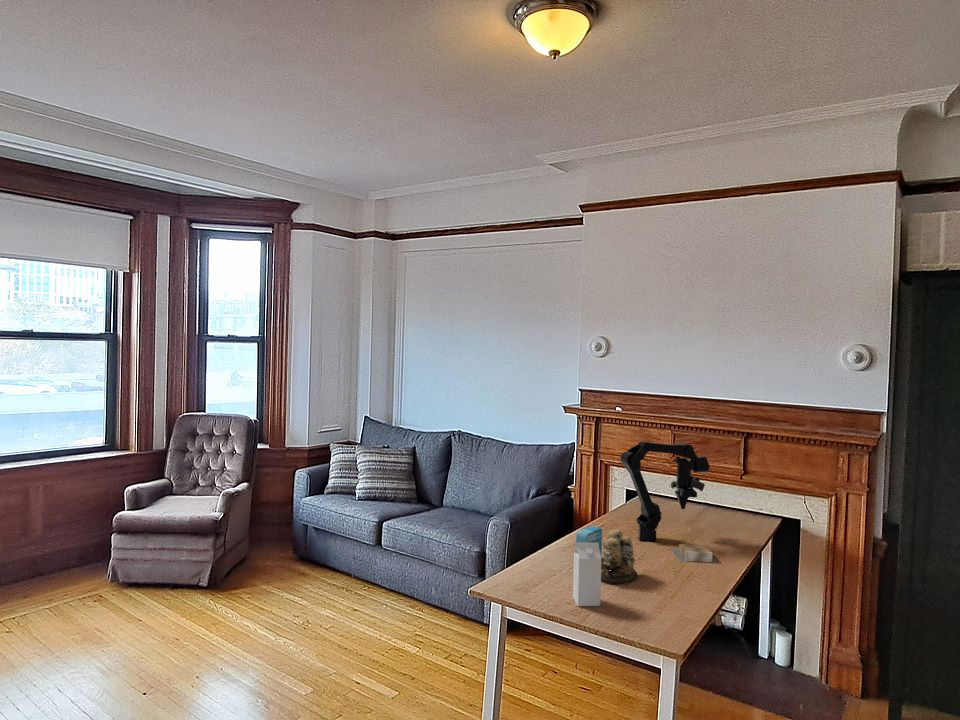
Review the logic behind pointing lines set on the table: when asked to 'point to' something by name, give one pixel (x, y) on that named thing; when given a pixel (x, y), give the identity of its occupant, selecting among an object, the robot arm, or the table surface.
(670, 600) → the table surface
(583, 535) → the data package
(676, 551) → the mat
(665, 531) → the table surface
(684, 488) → the robot arm
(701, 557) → the slab
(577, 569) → the milk carton
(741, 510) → the table surface
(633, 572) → the owl figurine
